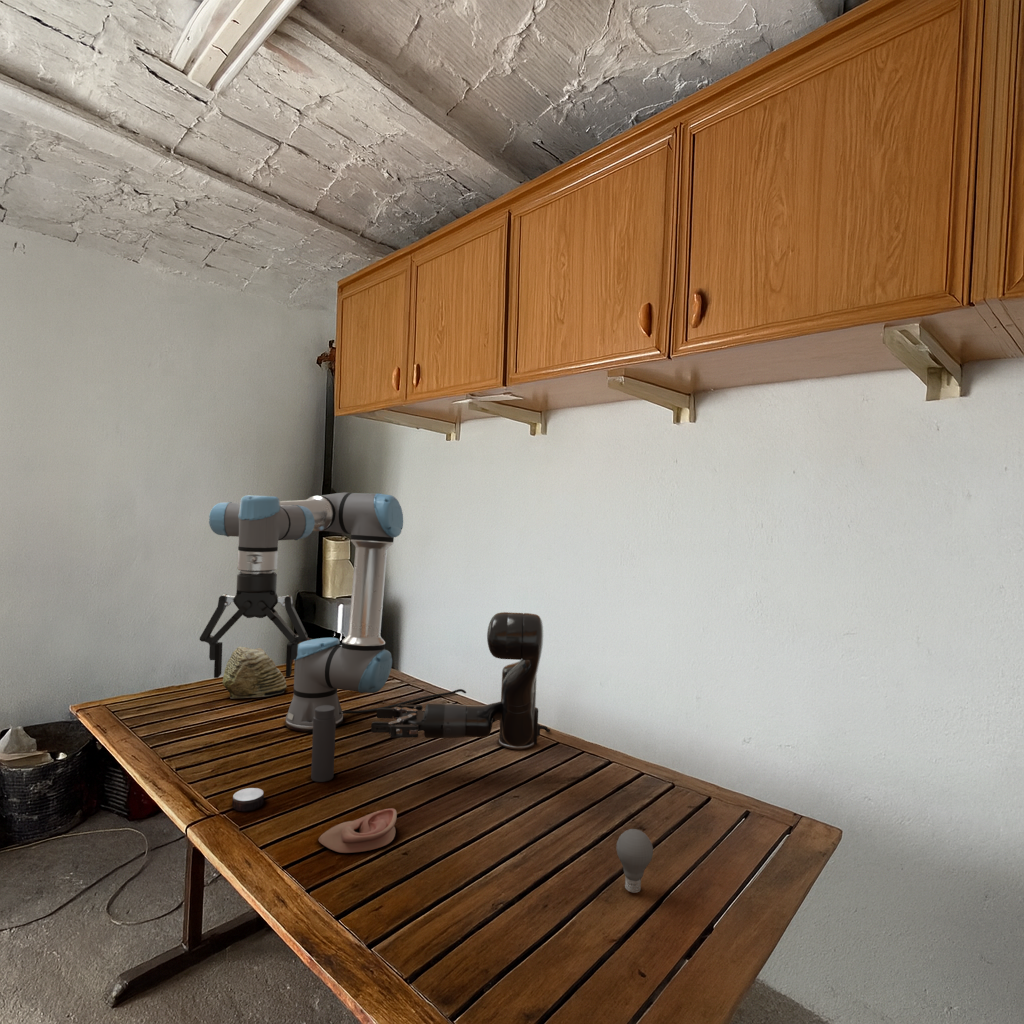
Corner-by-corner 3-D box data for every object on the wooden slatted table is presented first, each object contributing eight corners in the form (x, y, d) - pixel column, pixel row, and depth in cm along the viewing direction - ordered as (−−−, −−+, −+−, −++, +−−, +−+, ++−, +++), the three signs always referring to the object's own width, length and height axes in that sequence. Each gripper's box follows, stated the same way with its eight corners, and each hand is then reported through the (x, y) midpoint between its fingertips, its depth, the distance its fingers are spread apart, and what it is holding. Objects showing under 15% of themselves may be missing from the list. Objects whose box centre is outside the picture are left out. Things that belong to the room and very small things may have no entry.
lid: (249, 814, 125) (249, 803, 125) (225, 808, 127) (226, 797, 127) (269, 801, 131) (270, 791, 131) (247, 795, 133) (247, 785, 133)
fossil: (218, 695, 195) (220, 647, 195) (278, 685, 208) (279, 640, 207) (228, 703, 189) (230, 653, 188) (289, 692, 201) (290, 645, 201)
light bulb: (610, 879, 108) (613, 822, 108) (644, 879, 109) (647, 822, 109) (619, 902, 102) (622, 840, 102) (655, 901, 103) (658, 840, 103)
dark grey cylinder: (319, 771, 146) (321, 703, 146) (337, 774, 145) (340, 706, 144) (306, 779, 141) (309, 710, 141) (325, 783, 140) (328, 713, 140)
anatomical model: (310, 826, 114) (340, 797, 125) (309, 848, 114) (339, 817, 125) (379, 837, 111) (403, 806, 122) (378, 859, 111) (403, 827, 123)
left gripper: (185, 572, 122) (181, 681, 123) (319, 575, 127) (315, 679, 128) (196, 568, 130) (192, 671, 130) (322, 570, 135) (319, 669, 135)
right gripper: (447, 694, 152) (378, 693, 151) (445, 716, 138) (370, 714, 137) (445, 725, 152) (377, 724, 151) (444, 749, 138) (368, 749, 137)
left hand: (253, 675), depth 129 cm, fingers open, 13 cm apart
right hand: (374, 719), depth 144 cm, fingers open, 8 cm apart
